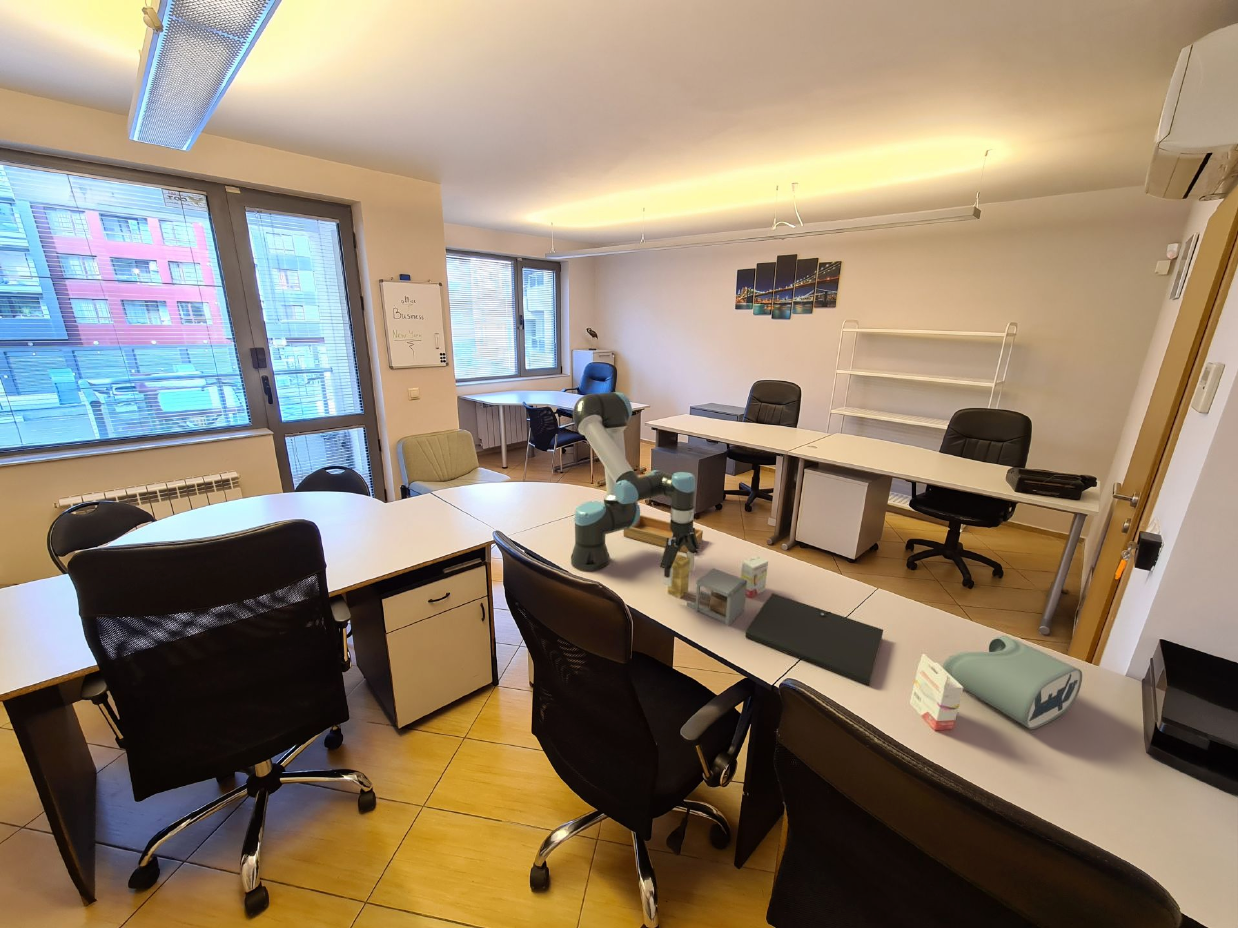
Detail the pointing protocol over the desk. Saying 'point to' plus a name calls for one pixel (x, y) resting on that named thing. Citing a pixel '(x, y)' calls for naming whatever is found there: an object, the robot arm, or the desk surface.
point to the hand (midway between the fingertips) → (679, 577)
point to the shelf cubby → (725, 586)
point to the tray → (655, 532)
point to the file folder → (817, 637)
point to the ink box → (754, 575)
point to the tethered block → (681, 586)
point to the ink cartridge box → (936, 695)
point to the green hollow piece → (1017, 680)
